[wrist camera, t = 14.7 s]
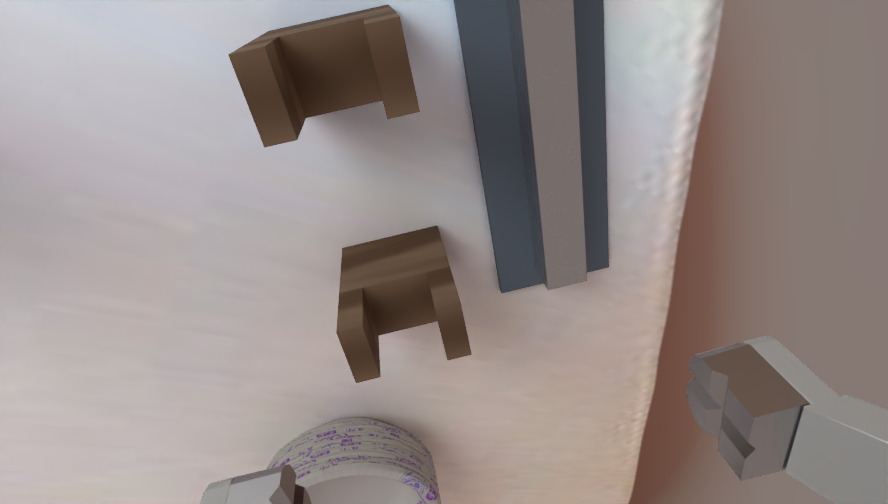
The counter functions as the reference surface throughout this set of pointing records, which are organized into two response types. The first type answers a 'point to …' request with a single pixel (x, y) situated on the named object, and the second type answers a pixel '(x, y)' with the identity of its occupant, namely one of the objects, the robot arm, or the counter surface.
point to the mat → (501, 137)
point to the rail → (550, 134)
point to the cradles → (389, 79)
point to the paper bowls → (361, 464)
